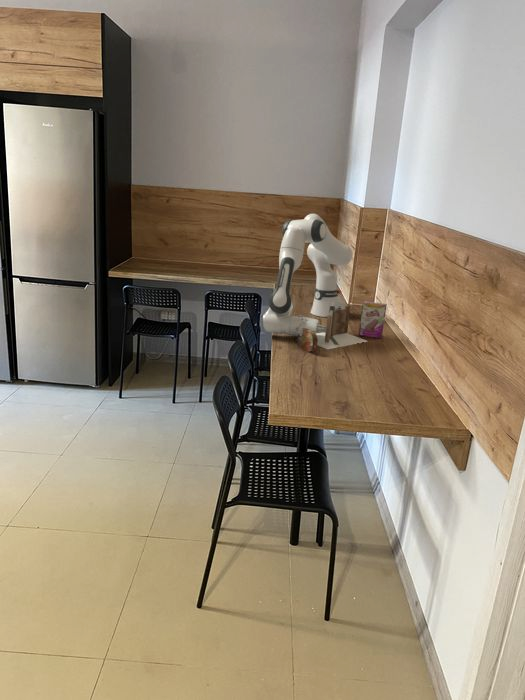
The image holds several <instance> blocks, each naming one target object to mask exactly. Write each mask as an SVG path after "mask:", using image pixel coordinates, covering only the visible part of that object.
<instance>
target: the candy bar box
mask: <svg viewBox="0 0 525 700" xmlns="http://www.w3.org/2000/svg"><path fill="white" fill-rule="evenodd" d="M387 305H388V304H387V303H382V302H381V303H380V302H374V301H367V300H363V303H362V307H361V314H360V322H359V328H358V336H359V335H361V337H366V336H368V338H373V337H374V339H380V338H381V339H382V338H383V332H384V325H385V319H386V313H387V312H386V311H387V308H388V307H387Z"/></svg>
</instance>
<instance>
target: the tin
mask: <svg viewBox="0 0 525 700" xmlns="http://www.w3.org/2000/svg"><path fill="white" fill-rule="evenodd" d="M302 329H303V334H302V336H300V335H299V333H298V336H297V342H298V345H299V346H300V347H301V348H302V349H303V350H305V351H306V352H309V353H310V352H315V351H316V350H317V347H318V346H317V342H318V339H317V335H316V334H317V333H316V334H315V333H314V332H312V331H310V330H309V329H307V328H302Z"/></svg>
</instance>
